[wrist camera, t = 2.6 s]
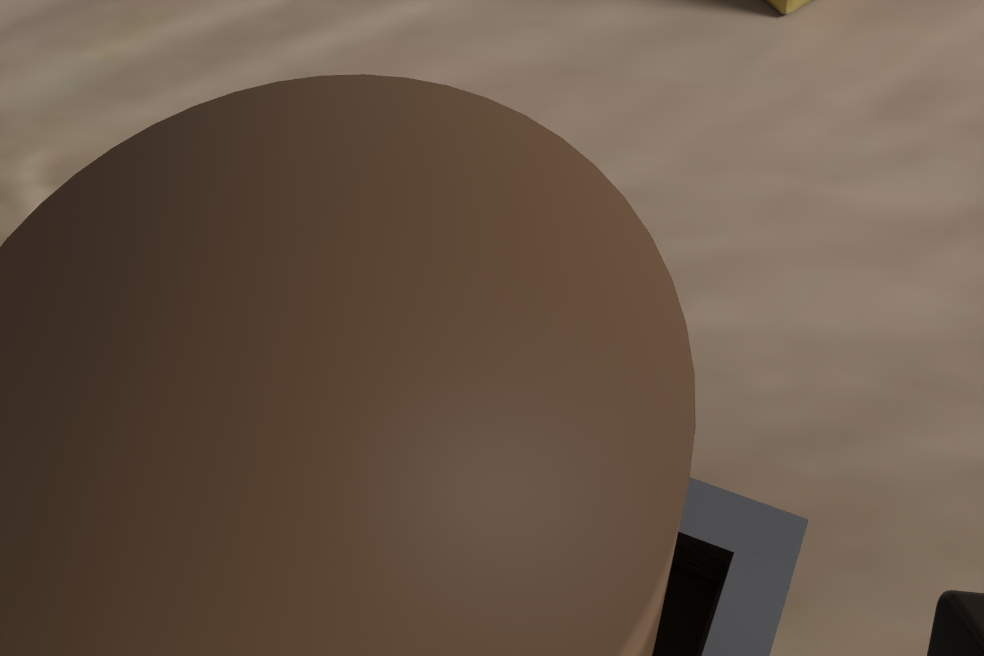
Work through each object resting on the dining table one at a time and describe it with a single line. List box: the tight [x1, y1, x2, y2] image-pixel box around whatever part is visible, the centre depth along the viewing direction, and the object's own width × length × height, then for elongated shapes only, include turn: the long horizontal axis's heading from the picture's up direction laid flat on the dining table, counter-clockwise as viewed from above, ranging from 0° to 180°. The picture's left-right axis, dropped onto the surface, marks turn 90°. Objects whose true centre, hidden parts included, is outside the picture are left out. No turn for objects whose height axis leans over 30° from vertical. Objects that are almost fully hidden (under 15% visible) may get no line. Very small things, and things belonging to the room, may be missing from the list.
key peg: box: [0, 75, 695, 656], centre depth 10 cm, size 4×4×13 cm
